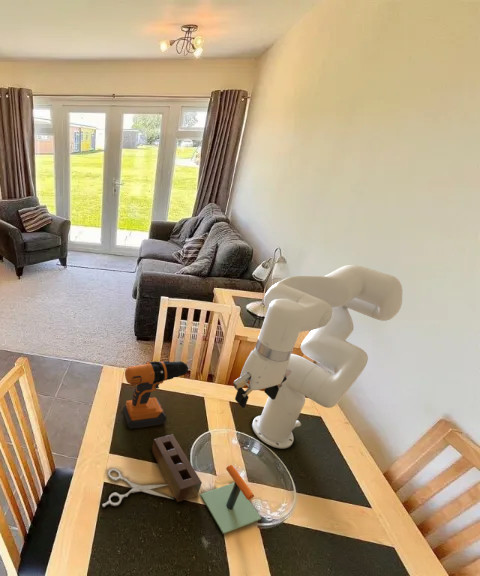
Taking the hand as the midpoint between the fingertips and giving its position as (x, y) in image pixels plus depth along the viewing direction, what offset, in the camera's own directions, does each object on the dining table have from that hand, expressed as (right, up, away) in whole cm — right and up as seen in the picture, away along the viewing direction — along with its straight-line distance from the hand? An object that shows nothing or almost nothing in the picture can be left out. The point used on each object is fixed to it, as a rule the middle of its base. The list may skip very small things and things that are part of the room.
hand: (254, 399), depth 84 cm
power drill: (-23, -16, +28) cm, 40 cm away
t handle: (-6, -30, +2) cm, 30 cm away
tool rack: (-19, -25, +11) cm, 33 cm away
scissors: (-30, -28, +6) cm, 42 cm away
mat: (-6, -30, +2) cm, 31 cm away
